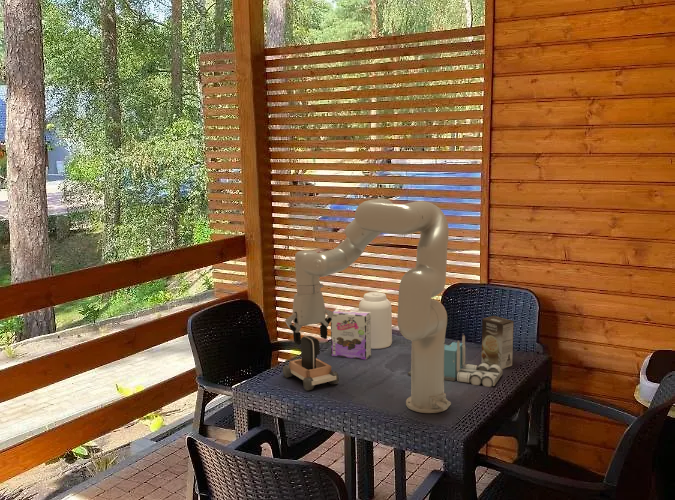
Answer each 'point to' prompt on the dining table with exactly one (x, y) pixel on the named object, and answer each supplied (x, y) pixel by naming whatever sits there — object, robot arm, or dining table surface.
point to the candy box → (351, 334)
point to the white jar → (378, 318)
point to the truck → (467, 367)
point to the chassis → (311, 373)
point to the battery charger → (309, 352)
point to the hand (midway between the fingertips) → (310, 340)
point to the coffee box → (497, 341)
